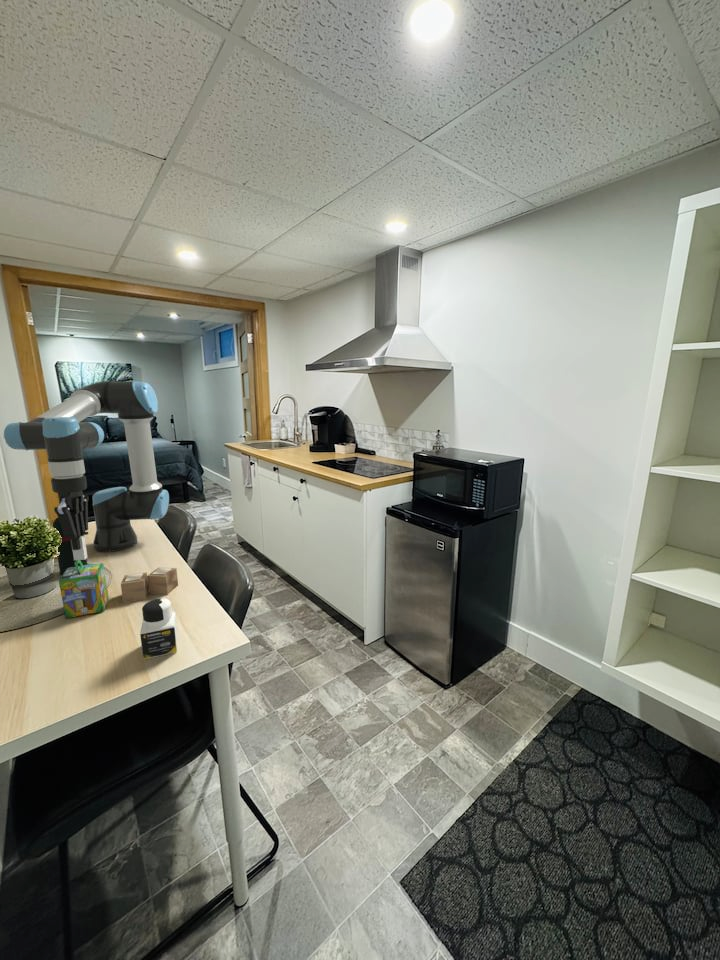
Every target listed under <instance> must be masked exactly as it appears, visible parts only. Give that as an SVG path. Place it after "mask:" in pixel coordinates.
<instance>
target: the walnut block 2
mask: <svg viewBox="0 0 720 960" xmlns="http://www.w3.org/2000/svg"><path fill="white" fill-rule="evenodd" d="M177 569H178V568H176V567H157V568H156V569H154V570H153V571H152V572H150V573H149V574H147V580H148V588H149V591H148V594H149V595H166V596H167V595H168V596H169V594H170V593H171V592H172V591H174V589H176V588H177V587H178V586H179V580H178V578H179V577H178V570H177Z"/></svg>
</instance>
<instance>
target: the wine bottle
mask: <svg viewBox="0 0 720 960" xmlns="http://www.w3.org/2000/svg"><path fill="white" fill-rule="evenodd" d="M57 497H58V499H59V494H58V493H57ZM58 503H59V505H60V502H59V501H58ZM51 526H52V528H53V527H54V528H56V529H57V530H58V531H59V533H60V535H61V537H62V543H61V545H60V546H59V547H58V552H60V555H59V556H57V555H56V556H57V561H58V562H57V563H58V570H59V575H60V577H61V576H62V575H63V573H64V572H65V571H66V569H67V568H71V567H75V564H74V563H75V561H76V560H74V557H73V550H72V544H71V539H65V537H64V534H63V531H62V528H61V524H60V521H59V518H58V517H56V518H55V520H54V521H53V522H52V525H51ZM87 559H88V558H86V559H85V560H80V561H81V562H82V564H83V565H89V564H88V560H87ZM78 566H80V564H79V563H78Z"/></svg>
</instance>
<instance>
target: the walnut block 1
mask: <svg viewBox="0 0 720 960" xmlns="http://www.w3.org/2000/svg"><path fill="white" fill-rule="evenodd" d="M147 576H148V572H139V573H134V574H133V573H131V574H126V575H124V576H123V578H122V580H121V582H120V588H121V589H120V590H121V591H120V592H121V599H122V603H129V602H135V601H141V600H142V601H143V600H147V596H148V594H149V588H148V580H147Z"/></svg>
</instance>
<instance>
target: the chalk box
mask: <svg viewBox="0 0 720 960" xmlns="http://www.w3.org/2000/svg"><path fill="white" fill-rule="evenodd" d="M78 563H79V564H80V566H78ZM74 564H75V567H71V568H67V569H66V571H65V572H64V573H63V575H62V576H61V575H60V578H59V579H58V584H59V590H60V595H61V600H62V606H63V610H64V615H65V619H71V618H75V617H81V616H86V615H91V614H96V613H102V612H104V611H105V609H106V606H107V604H108V601H109V592H108V586H107V579H106V572H105V564H104V563H103V562H101V563H93V564H91V563H90V564H88V565H83V564H82V562H81V561H80V560H76V561H75V563H74Z"/></svg>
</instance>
